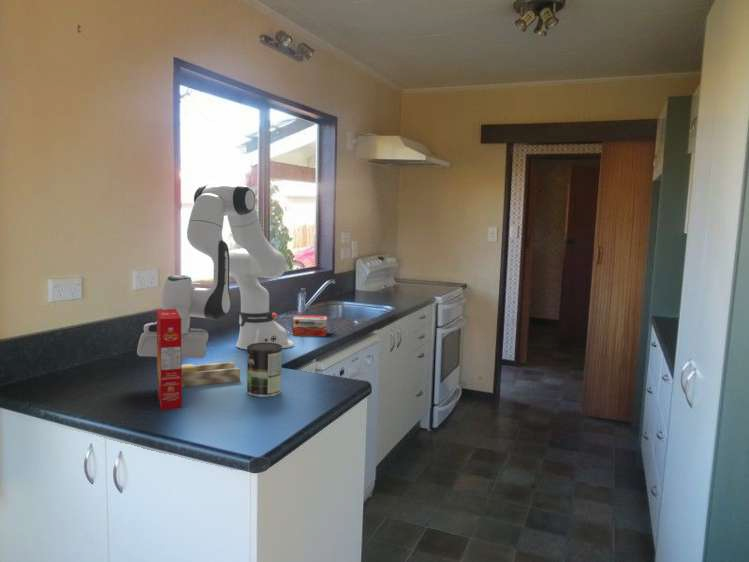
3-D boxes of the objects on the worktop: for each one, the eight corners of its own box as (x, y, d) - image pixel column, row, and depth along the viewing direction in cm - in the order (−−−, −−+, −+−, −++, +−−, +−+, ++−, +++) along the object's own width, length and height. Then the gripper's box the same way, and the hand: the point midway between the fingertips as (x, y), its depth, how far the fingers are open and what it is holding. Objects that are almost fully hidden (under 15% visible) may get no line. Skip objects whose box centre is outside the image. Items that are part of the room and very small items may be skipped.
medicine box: (292, 336, 251) (292, 318, 250) (294, 332, 259) (294, 314, 258) (326, 336, 252) (326, 319, 251) (327, 333, 260) (327, 315, 259)
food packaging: (157, 393, 167) (156, 309, 164) (176, 391, 169) (175, 309, 166) (161, 410, 154) (160, 319, 151) (181, 407, 156) (181, 318, 153)
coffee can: (250, 398, 165) (250, 351, 164) (244, 388, 175) (244, 343, 173) (284, 395, 169) (285, 349, 168) (277, 385, 179) (278, 341, 177)
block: (192, 379, 182) (192, 363, 182) (195, 383, 178) (195, 367, 177) (176, 380, 180) (176, 365, 179) (178, 385, 175) (178, 369, 175)
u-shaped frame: (233, 373, 190) (233, 359, 190) (240, 380, 182) (240, 366, 182) (170, 379, 181) (170, 364, 180) (174, 387, 173) (174, 372, 172)
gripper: (207, 328, 184) (204, 371, 183) (139, 324, 176) (135, 369, 176) (209, 329, 178) (205, 374, 177) (139, 326, 170) (135, 372, 170)
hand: (170, 371), depth 177 cm, fingers closed, pressing on u-shaped frame
